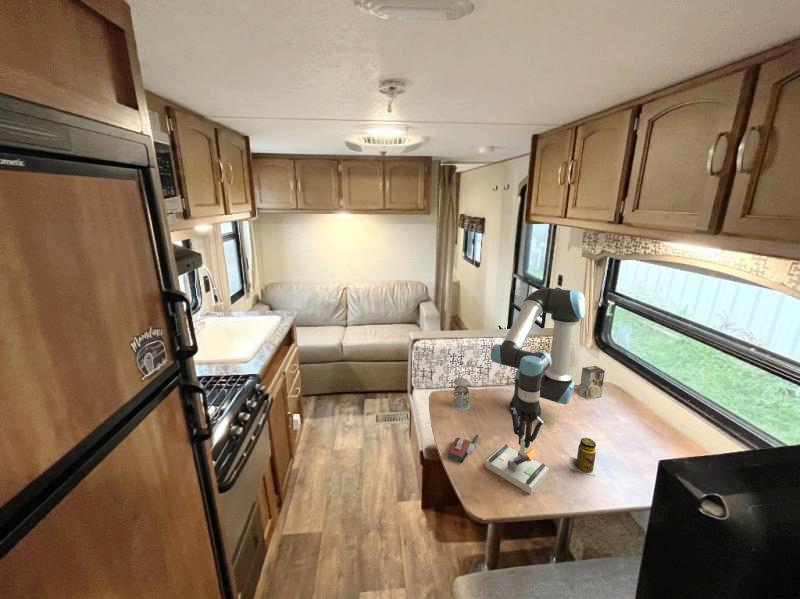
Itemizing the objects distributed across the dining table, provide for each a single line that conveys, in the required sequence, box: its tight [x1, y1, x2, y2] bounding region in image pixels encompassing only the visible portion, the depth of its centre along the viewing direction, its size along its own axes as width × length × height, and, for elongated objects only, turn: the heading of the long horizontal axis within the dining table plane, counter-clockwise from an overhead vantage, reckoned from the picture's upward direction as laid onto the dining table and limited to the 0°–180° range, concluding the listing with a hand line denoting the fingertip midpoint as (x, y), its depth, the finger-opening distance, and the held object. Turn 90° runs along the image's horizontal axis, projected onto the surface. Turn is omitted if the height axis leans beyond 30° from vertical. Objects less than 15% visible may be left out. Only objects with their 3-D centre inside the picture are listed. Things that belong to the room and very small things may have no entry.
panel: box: [485, 444, 550, 495], centre depth 133 cm, size 14×19×6 cm
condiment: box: [569, 437, 597, 477], centre depth 134 cm, size 7×8×12 cm
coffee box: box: [579, 365, 606, 400], centre depth 185 cm, size 9×6×16 cm
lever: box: [512, 448, 538, 466], centre depth 130 cm, size 6×2×10 cm
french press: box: [451, 361, 471, 412], centre depth 177 cm, size 10×12×25 cm
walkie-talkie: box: [447, 434, 479, 464], centre depth 146 cm, size 9×4×20 cm
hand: (523, 453), depth 130 cm, fingers closed
